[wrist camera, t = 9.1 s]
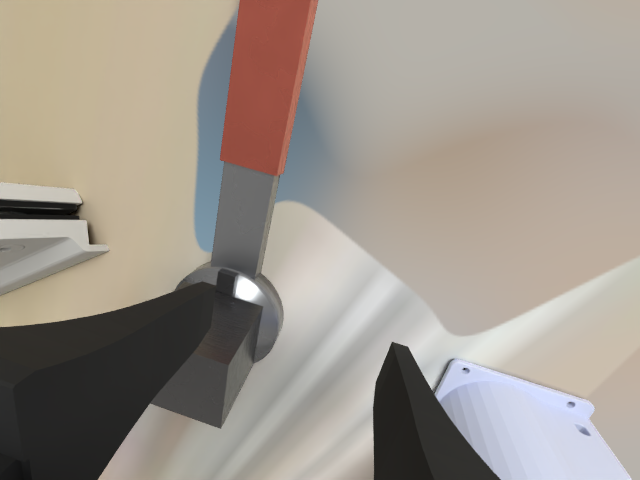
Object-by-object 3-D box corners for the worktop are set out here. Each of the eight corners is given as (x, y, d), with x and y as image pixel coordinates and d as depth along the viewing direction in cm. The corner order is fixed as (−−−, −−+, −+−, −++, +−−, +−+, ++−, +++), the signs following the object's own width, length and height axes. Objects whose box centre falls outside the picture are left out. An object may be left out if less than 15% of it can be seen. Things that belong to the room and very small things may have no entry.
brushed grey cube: (263, 306, 21) (228, 365, 17) (253, 364, 24) (220, 428, 19) (184, 281, 22) (130, 331, 17) (183, 340, 24) (135, 398, 20)
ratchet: (362, -8, 16) (356, -55, 12) (272, 365, 25) (250, 413, 21) (216, -41, 17) (161, -97, 13) (179, 334, 26) (140, 375, 22)
